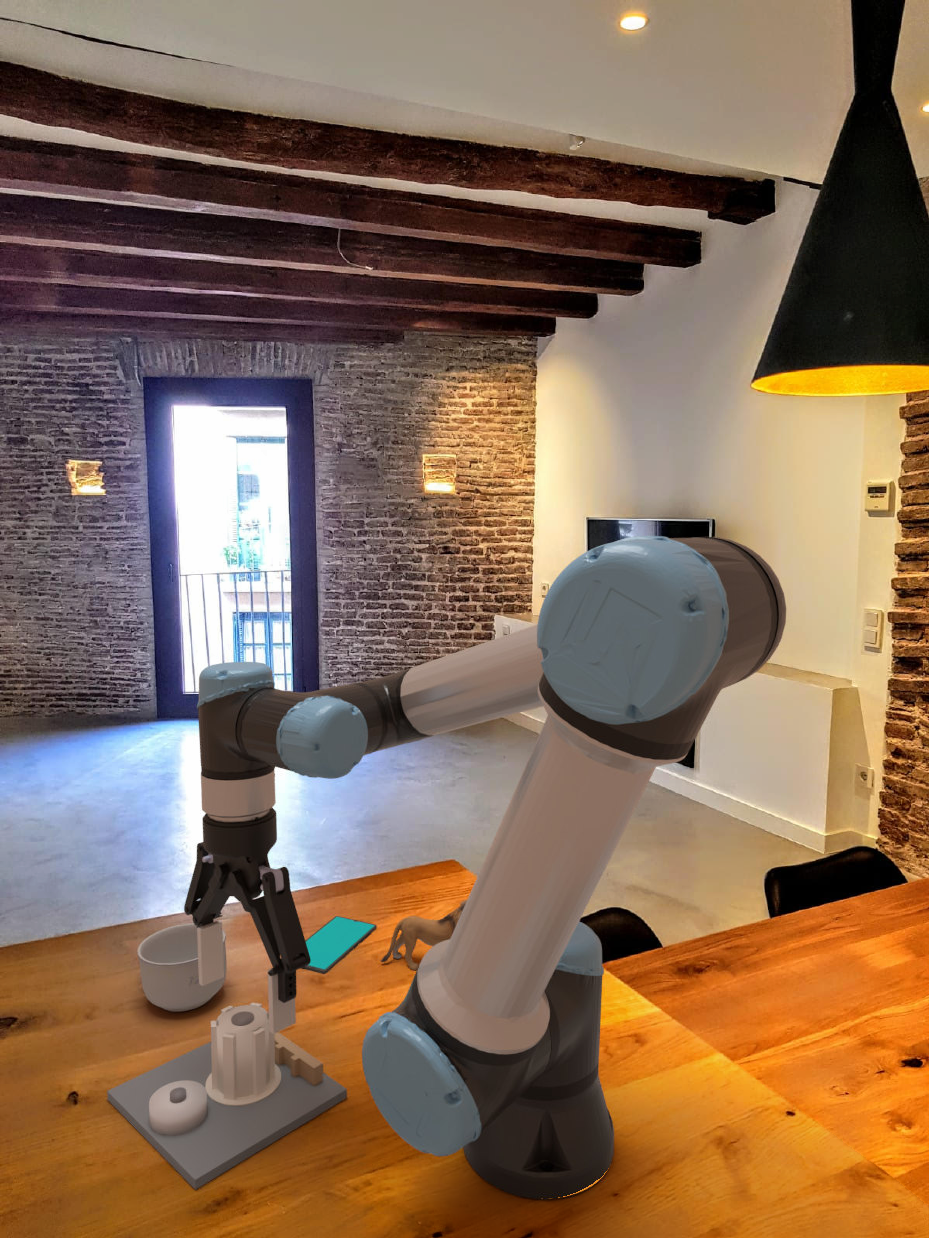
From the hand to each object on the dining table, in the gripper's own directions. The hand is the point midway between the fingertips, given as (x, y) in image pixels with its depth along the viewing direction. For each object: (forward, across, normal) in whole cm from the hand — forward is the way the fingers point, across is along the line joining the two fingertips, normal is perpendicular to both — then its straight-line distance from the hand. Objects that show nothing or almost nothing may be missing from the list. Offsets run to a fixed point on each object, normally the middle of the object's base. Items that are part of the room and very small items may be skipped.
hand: (245, 1002), depth 93 cm
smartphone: (+10, +20, -27) cm, 35 cm away
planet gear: (+9, +1, 0) cm, 9 cm away
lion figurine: (+10, +5, -34) cm, 36 cm away
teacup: (+10, +23, -6) cm, 25 cm away
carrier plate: (+10, +1, +2) cm, 10 cm away
